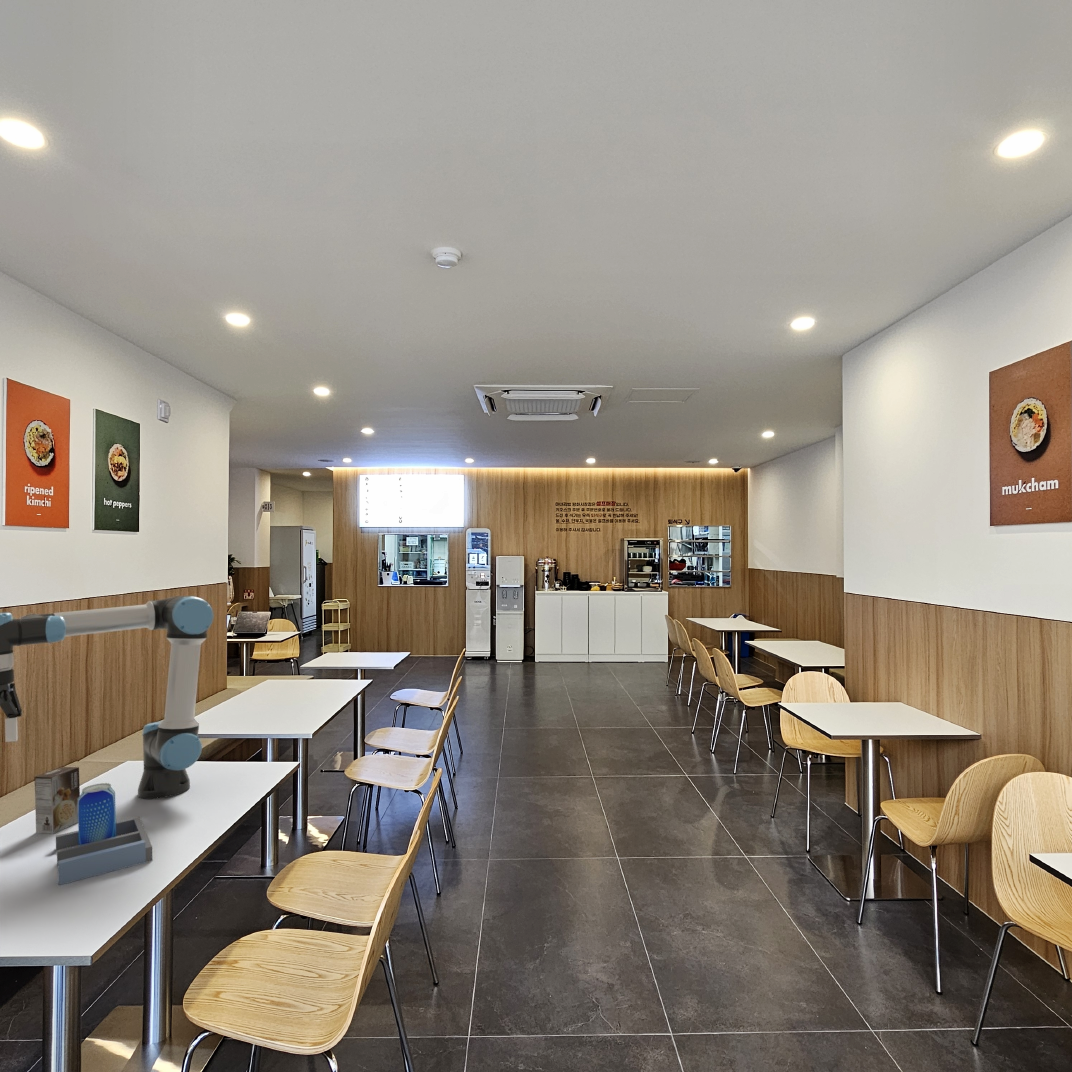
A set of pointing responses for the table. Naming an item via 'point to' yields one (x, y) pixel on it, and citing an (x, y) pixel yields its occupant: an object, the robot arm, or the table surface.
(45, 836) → the table surface
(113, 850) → the divided slot tray
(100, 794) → the beer can
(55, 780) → the coffee box
